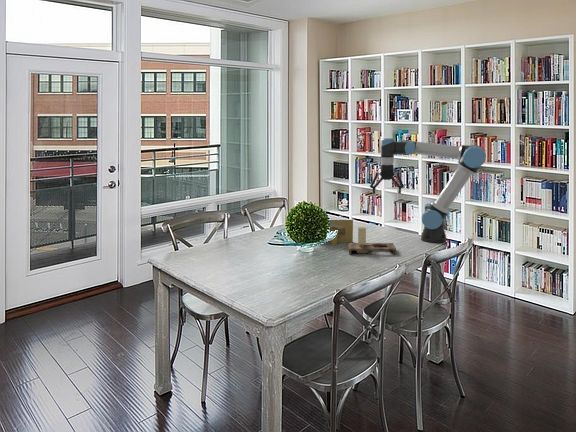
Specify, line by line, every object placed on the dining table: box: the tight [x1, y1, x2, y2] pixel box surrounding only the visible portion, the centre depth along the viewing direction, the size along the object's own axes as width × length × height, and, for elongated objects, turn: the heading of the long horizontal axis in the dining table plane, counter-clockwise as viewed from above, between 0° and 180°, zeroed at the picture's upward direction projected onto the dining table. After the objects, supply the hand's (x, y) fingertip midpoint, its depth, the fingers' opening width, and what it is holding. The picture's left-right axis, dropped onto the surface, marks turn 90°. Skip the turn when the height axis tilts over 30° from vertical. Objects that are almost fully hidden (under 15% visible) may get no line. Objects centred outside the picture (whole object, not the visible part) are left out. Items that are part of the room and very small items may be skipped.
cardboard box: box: [329, 219, 354, 246], centre depth 308 cm, size 23×9×15 cm, turn 84°
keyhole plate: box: [347, 242, 397, 255], centre depth 288 cm, size 26×13×4 cm, turn 86°
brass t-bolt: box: [355, 226, 369, 254], centre depth 288 cm, size 6×6×14 cm
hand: (386, 199), depth 305 cm, fingers open, 13 cm apart
